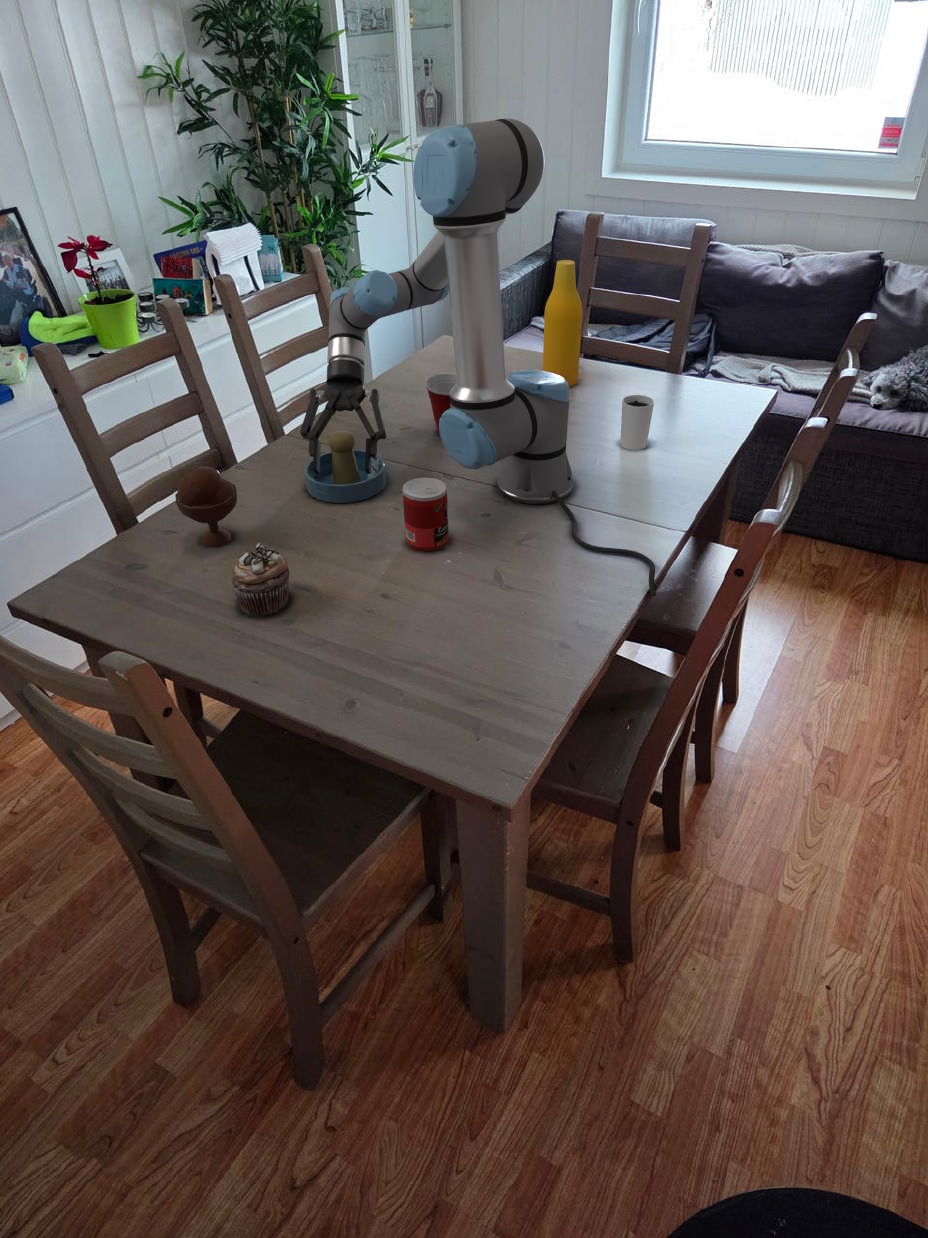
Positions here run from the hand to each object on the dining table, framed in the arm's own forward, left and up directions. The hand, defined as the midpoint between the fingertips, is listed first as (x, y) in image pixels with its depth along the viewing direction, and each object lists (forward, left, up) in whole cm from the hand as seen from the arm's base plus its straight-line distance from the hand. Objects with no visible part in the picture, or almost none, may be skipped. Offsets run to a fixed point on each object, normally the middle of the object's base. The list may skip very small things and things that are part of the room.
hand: (342, 471), depth 167 cm
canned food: (-25, -7, -5) cm, 27 cm away
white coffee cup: (-11, -64, -5) cm, 65 cm away
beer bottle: (+28, -70, -5) cm, 75 cm away
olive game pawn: (+3, -2, -4) cm, 5 cm away
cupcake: (-29, +25, -5) cm, 39 cm away
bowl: (+3, -2, -4) cm, 5 cm away
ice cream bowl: (-5, +27, -5) cm, 28 cm away
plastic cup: (+15, -32, -5) cm, 35 cm away
